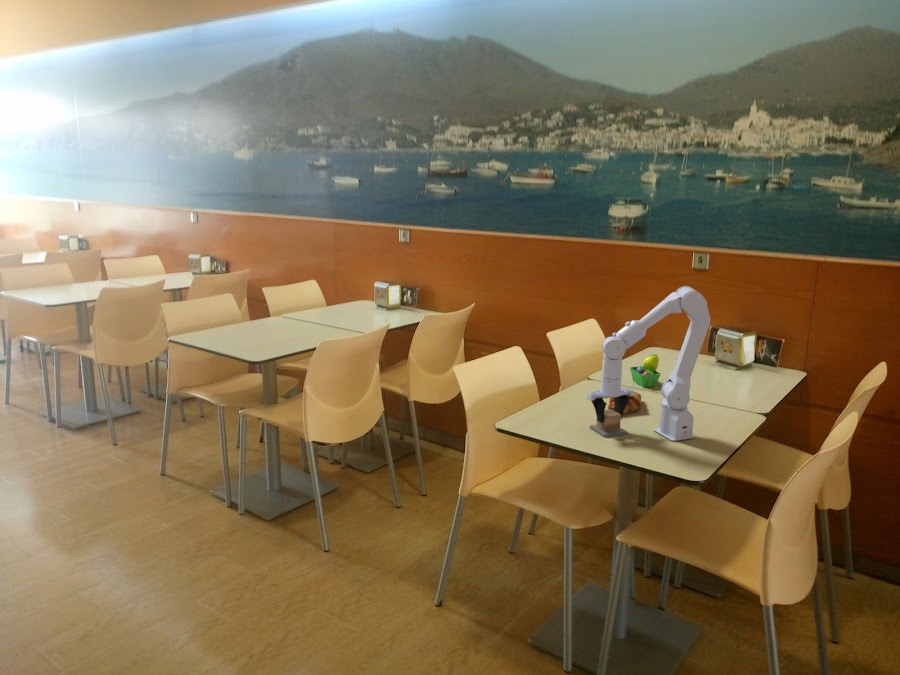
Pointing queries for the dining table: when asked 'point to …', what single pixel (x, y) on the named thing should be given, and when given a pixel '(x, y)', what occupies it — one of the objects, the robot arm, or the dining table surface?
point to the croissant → (631, 406)
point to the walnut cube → (610, 421)
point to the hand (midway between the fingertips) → (608, 420)
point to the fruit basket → (646, 372)
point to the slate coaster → (608, 434)
